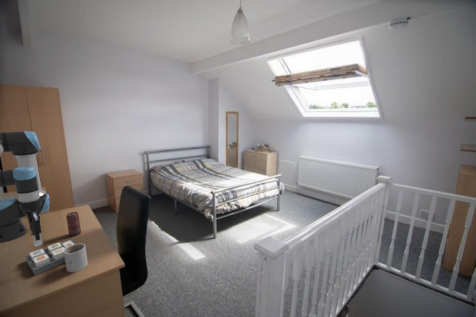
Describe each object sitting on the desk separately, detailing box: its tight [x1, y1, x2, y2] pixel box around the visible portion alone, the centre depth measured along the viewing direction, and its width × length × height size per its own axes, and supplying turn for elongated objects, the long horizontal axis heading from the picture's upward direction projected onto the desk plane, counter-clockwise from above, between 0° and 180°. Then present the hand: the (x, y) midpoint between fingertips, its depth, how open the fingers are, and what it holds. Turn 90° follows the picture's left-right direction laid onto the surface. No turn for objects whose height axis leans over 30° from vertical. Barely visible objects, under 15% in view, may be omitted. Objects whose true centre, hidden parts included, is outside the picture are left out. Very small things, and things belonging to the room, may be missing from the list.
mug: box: [64, 243, 89, 273], centre depth 110 cm, size 12×9×10 cm
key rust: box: [33, 254, 50, 268], centre depth 108 cm, size 5×5×3 cm
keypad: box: [24, 238, 77, 277], centre depth 116 cm, size 17×20×3 cm
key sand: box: [52, 247, 65, 260], centre depth 114 cm, size 5×5×3 cm
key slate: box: [28, 248, 45, 262], centre depth 113 cm, size 5×5×3 cm
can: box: [65, 211, 82, 237], centre depth 137 cm, size 6×6×14 cm
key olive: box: [47, 242, 62, 255], centre depth 118 cm, size 5×5×3 cm
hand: (38, 245), depth 107 cm, fingers closed
